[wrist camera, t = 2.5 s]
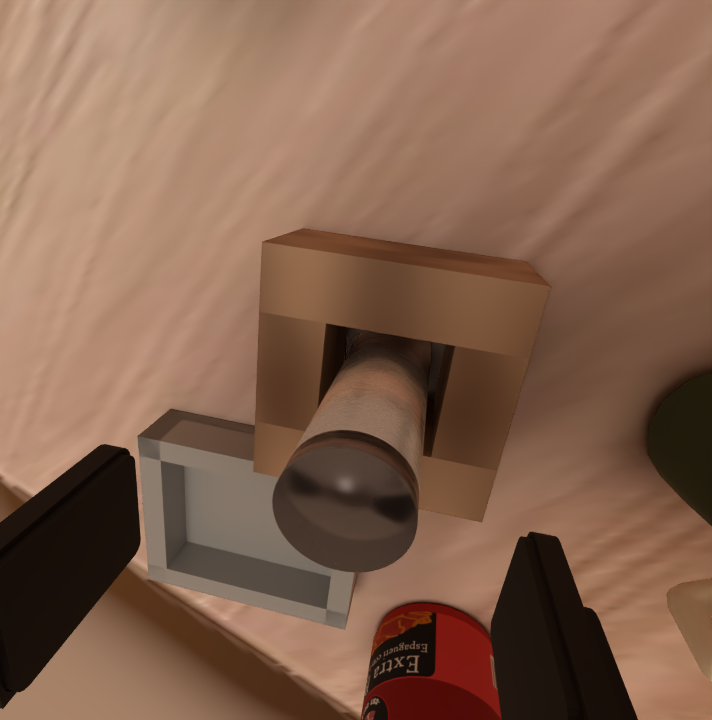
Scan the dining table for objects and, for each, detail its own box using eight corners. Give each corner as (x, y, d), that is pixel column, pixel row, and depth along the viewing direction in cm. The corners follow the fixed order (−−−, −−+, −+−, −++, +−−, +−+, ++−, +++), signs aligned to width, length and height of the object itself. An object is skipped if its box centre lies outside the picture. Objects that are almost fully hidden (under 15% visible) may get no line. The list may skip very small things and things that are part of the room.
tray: (376, 451, 24) (368, 486, 22) (354, 585, 28) (345, 629, 25) (170, 408, 26) (137, 436, 23) (176, 541, 30) (149, 578, 27)
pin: (437, 319, 21) (429, 470, 10) (424, 388, 22) (404, 586, 11) (362, 307, 21) (275, 438, 10) (353, 375, 23) (268, 553, 12)
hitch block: (526, 261, 19) (550, 286, 15) (474, 455, 23) (481, 522, 19) (302, 228, 21) (262, 242, 16) (289, 417, 24) (253, 472, 20)
